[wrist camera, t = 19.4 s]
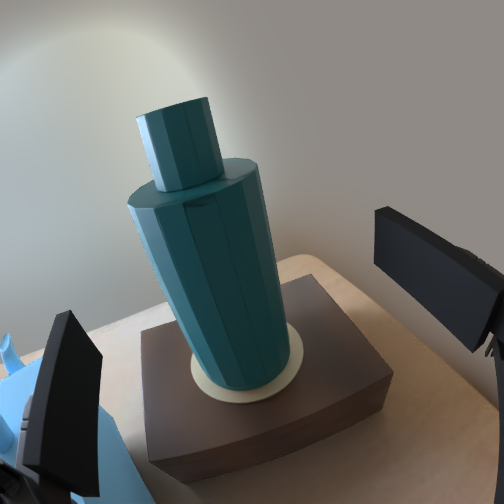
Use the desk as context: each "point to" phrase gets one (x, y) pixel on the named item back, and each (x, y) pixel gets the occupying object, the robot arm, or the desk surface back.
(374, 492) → the desk surface
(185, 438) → the dark brown wooden block
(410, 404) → the desk surface
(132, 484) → the teapot
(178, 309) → the bottle
